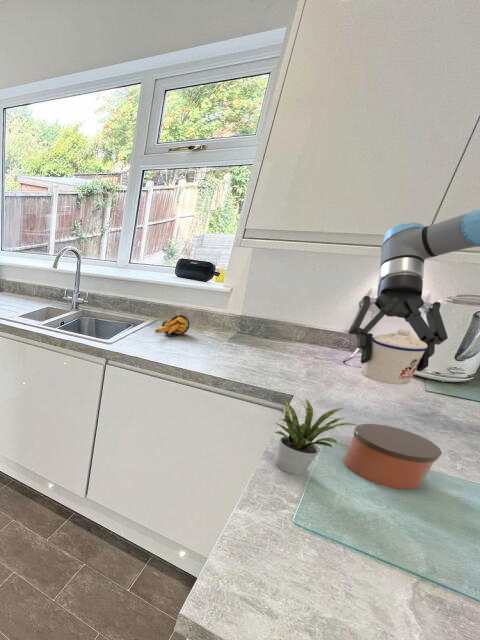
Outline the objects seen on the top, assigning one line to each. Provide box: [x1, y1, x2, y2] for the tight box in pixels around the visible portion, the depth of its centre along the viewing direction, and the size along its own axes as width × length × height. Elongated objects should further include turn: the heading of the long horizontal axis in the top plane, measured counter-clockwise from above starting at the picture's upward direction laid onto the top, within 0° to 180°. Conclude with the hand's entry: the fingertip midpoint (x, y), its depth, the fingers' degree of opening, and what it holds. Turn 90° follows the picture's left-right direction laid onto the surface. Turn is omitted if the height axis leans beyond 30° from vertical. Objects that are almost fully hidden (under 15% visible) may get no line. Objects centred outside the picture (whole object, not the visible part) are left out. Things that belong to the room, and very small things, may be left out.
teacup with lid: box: [359, 328, 428, 386], centre depth 96 cm, size 12×9×12 cm
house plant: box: [273, 398, 363, 476], centre depth 90 cm, size 14×14×16 cm
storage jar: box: [342, 423, 442, 490], centre depth 91 cm, size 14×14×8 cm
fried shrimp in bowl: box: [154, 314, 191, 337], centre depth 178 cm, size 9×11×18 cm
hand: (393, 364), depth 94 cm, fingers closed on teacup with lid, 9 cm apart
